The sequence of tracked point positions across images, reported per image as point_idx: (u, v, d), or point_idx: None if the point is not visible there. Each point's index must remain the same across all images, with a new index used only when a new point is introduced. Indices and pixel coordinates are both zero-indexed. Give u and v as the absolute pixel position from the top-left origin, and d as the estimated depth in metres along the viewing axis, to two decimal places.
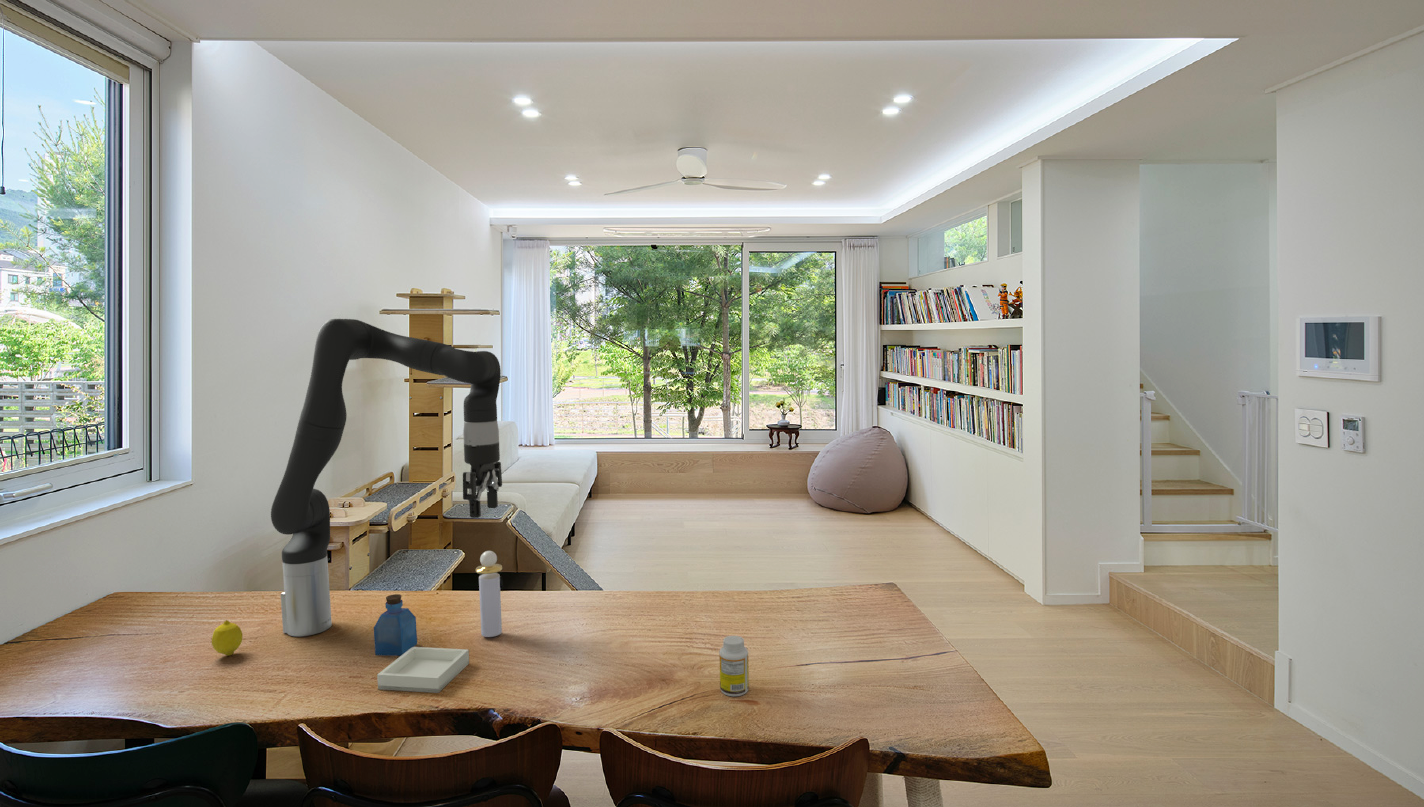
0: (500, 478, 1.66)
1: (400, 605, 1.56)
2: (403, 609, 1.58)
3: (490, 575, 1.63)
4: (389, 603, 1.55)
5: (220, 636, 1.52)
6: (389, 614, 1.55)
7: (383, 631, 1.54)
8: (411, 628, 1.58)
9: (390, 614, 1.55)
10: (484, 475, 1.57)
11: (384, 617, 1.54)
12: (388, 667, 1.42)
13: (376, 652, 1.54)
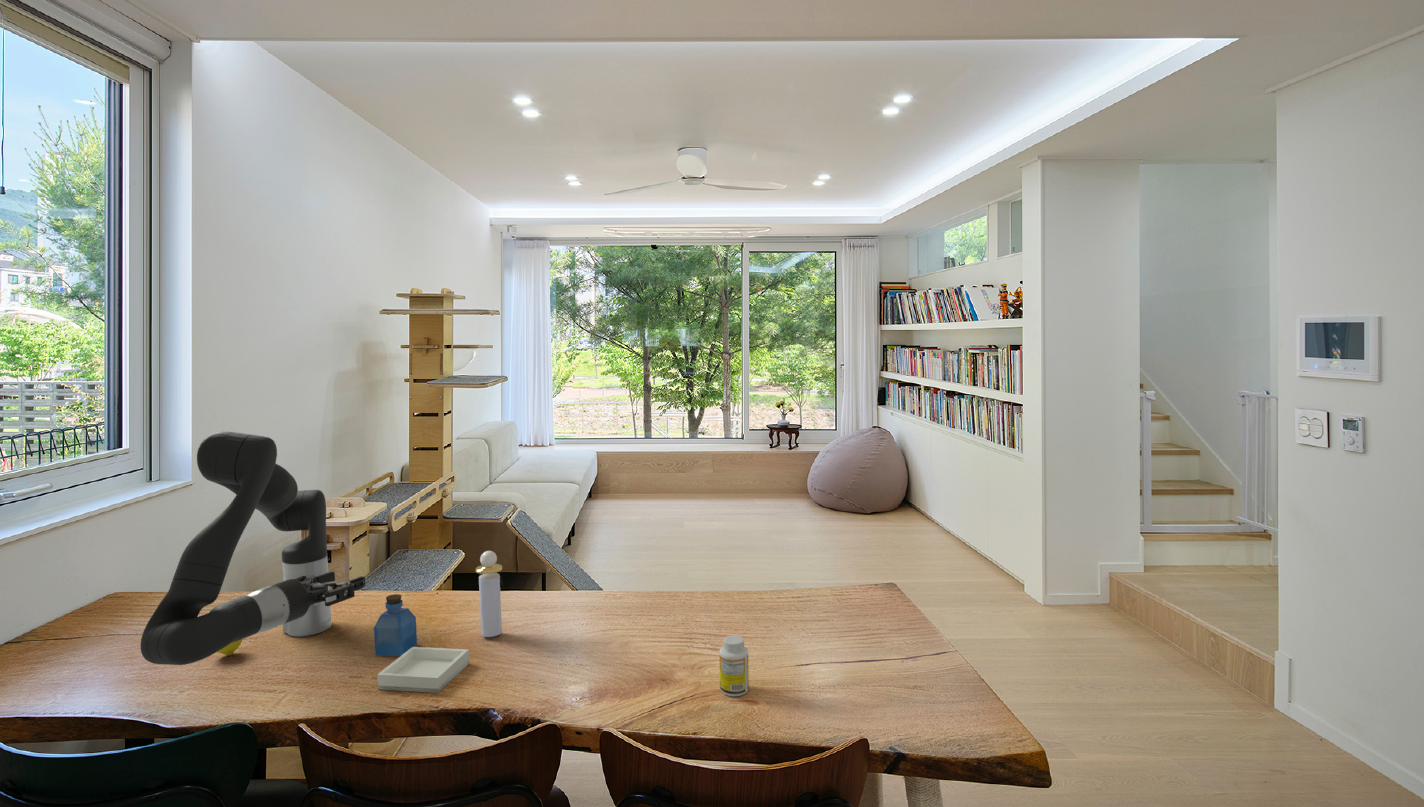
0: None
1: (400, 605, 1.56)
2: (403, 609, 1.58)
3: (490, 575, 1.63)
4: (389, 603, 1.55)
5: None
6: (390, 614, 1.55)
7: (383, 631, 1.54)
8: (411, 628, 1.58)
9: (391, 614, 1.55)
10: None
11: (384, 617, 1.54)
12: (388, 667, 1.42)
13: (376, 652, 1.54)
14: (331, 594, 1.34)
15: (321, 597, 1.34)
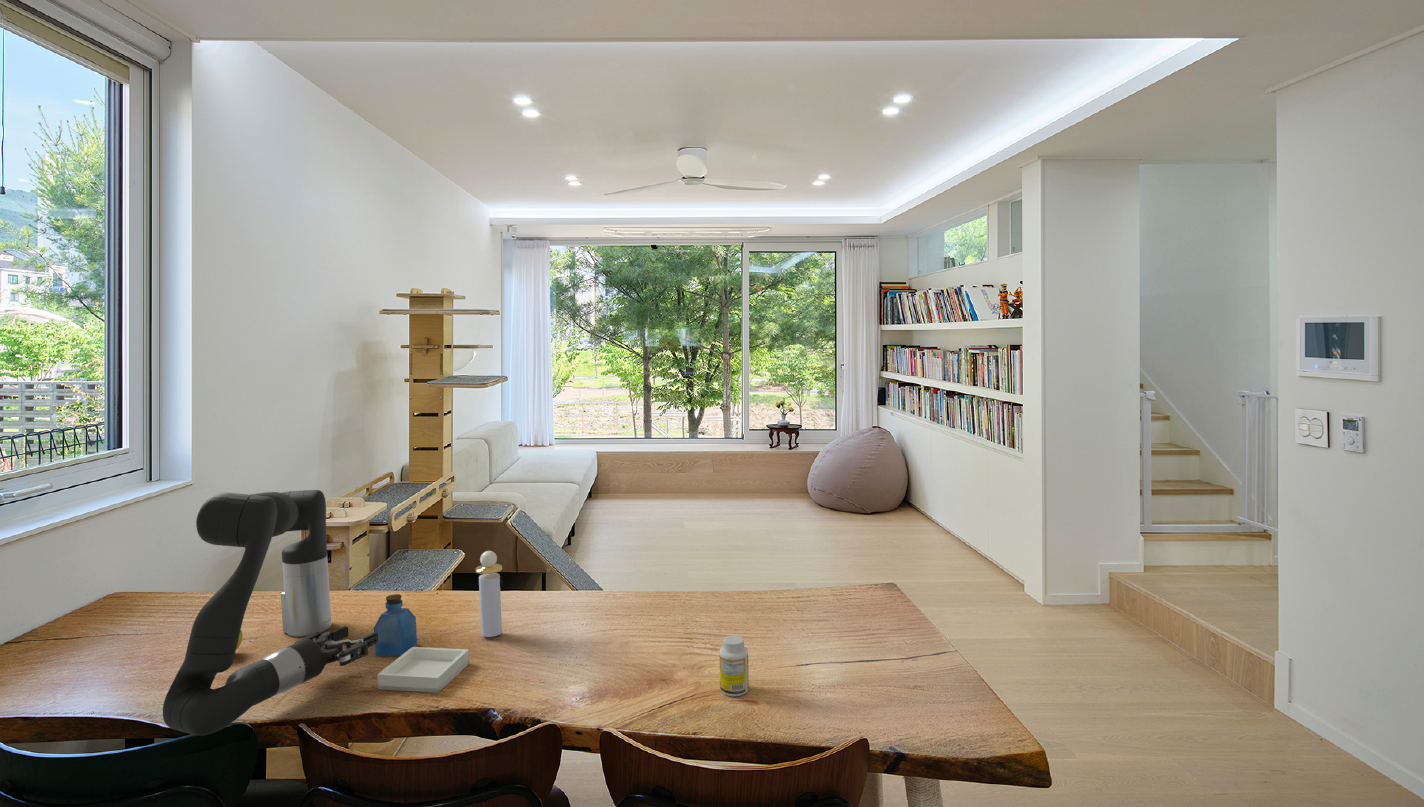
0: None
1: (400, 605, 1.56)
2: (403, 609, 1.58)
3: (490, 575, 1.63)
4: (389, 603, 1.55)
5: None
6: (389, 614, 1.55)
7: (383, 631, 1.54)
8: (411, 628, 1.58)
9: (390, 614, 1.55)
10: None
11: (384, 617, 1.54)
12: (388, 667, 1.42)
13: (376, 652, 1.54)
14: (345, 654, 1.37)
15: (336, 657, 1.38)
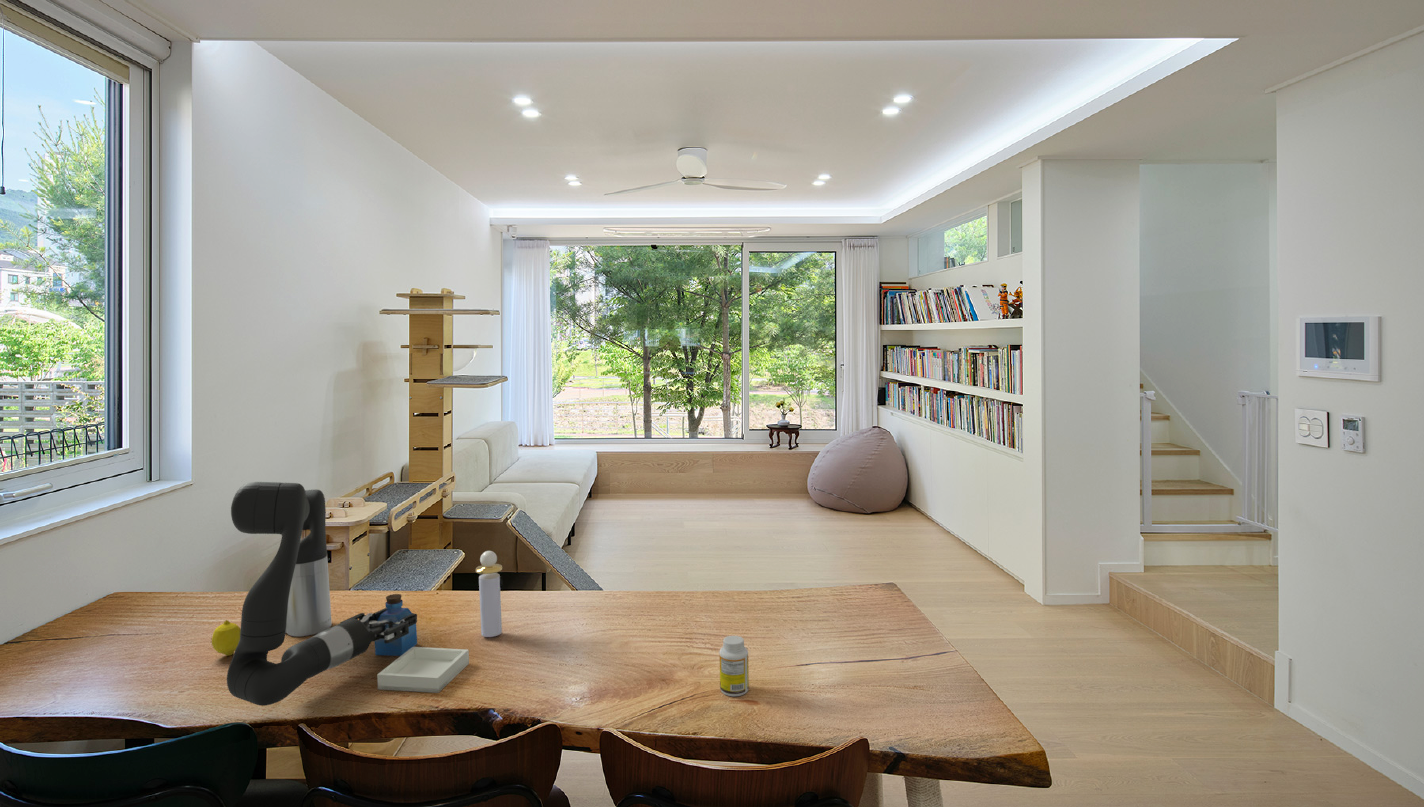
0: None
1: (400, 605, 1.56)
2: (403, 609, 1.58)
3: (490, 575, 1.63)
4: (389, 603, 1.55)
5: (220, 636, 1.52)
6: (389, 614, 1.55)
7: None
8: (411, 628, 1.58)
9: (390, 614, 1.55)
10: None
11: (384, 616, 1.54)
12: (388, 667, 1.42)
13: (376, 652, 1.54)
14: (390, 632, 1.47)
15: (380, 635, 1.47)
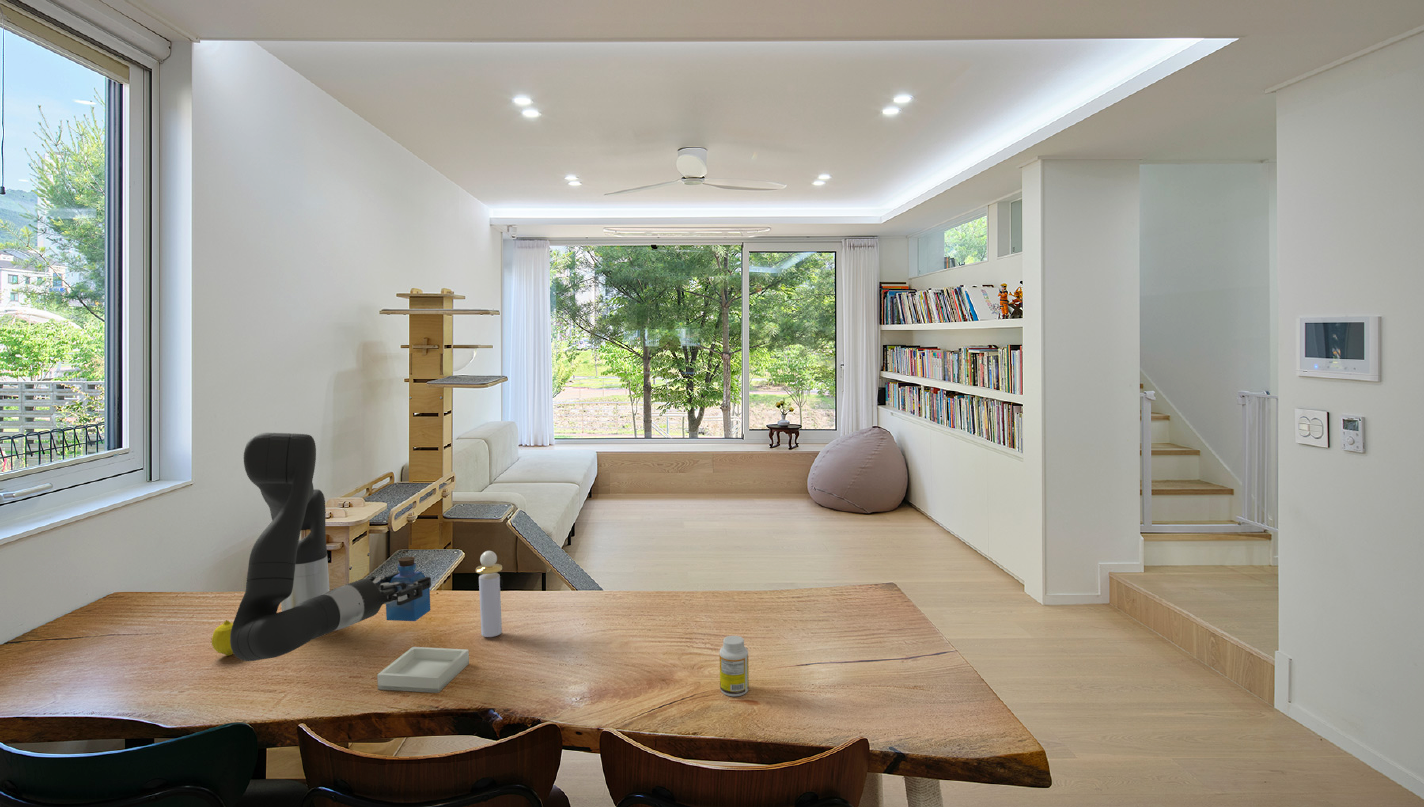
0: None
1: (413, 567, 1.47)
2: (416, 572, 1.49)
3: (490, 575, 1.63)
4: (402, 565, 1.46)
5: (220, 636, 1.52)
6: (402, 577, 1.46)
7: None
8: (425, 593, 1.49)
9: (403, 577, 1.46)
10: None
11: (396, 579, 1.46)
12: (388, 667, 1.42)
13: (387, 617, 1.46)
14: (403, 593, 1.38)
15: (393, 596, 1.38)
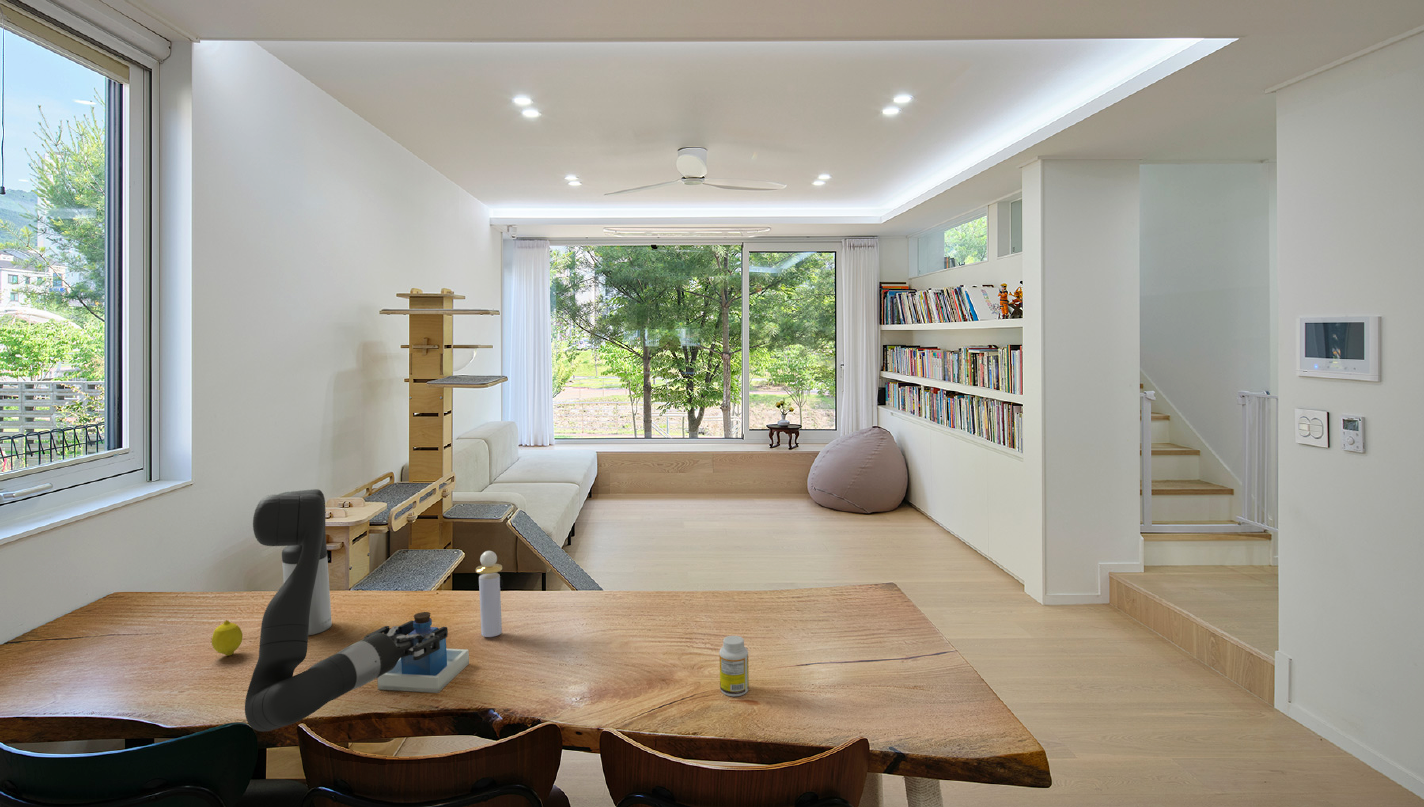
0: None
1: (429, 624, 1.43)
2: (432, 628, 1.45)
3: (490, 575, 1.63)
4: (417, 622, 1.42)
5: (220, 636, 1.52)
6: None
7: None
8: (441, 649, 1.45)
9: None
10: None
11: None
12: None
13: None
14: (419, 648, 1.34)
15: (409, 651, 1.34)
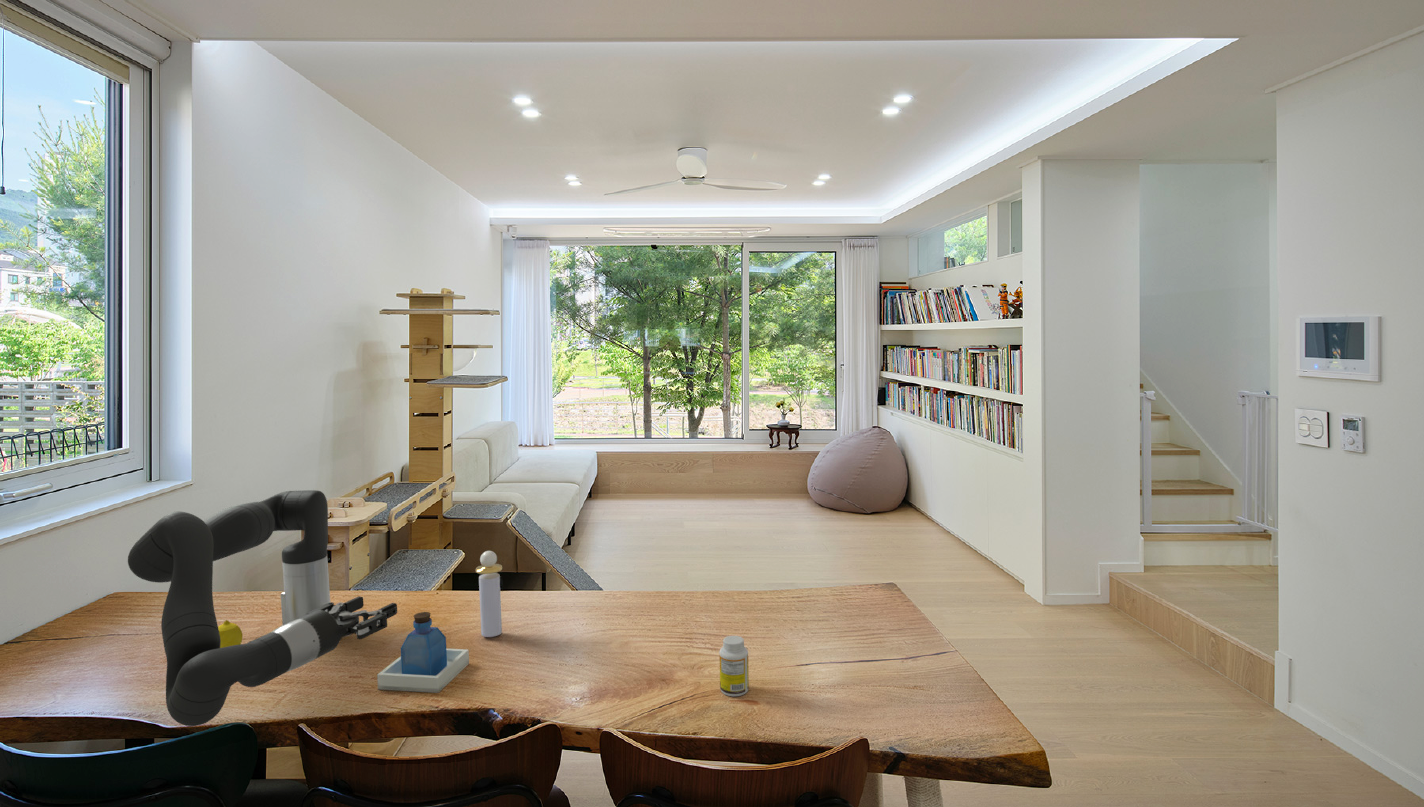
0: None
1: (429, 624, 1.43)
2: (432, 628, 1.45)
3: (490, 575, 1.63)
4: (417, 622, 1.42)
5: (220, 636, 1.52)
6: (417, 634, 1.42)
7: (410, 652, 1.41)
8: (441, 649, 1.45)
9: (418, 634, 1.42)
10: None
11: (412, 636, 1.42)
12: (388, 667, 1.42)
13: None
14: (363, 626, 1.24)
15: (353, 629, 1.24)
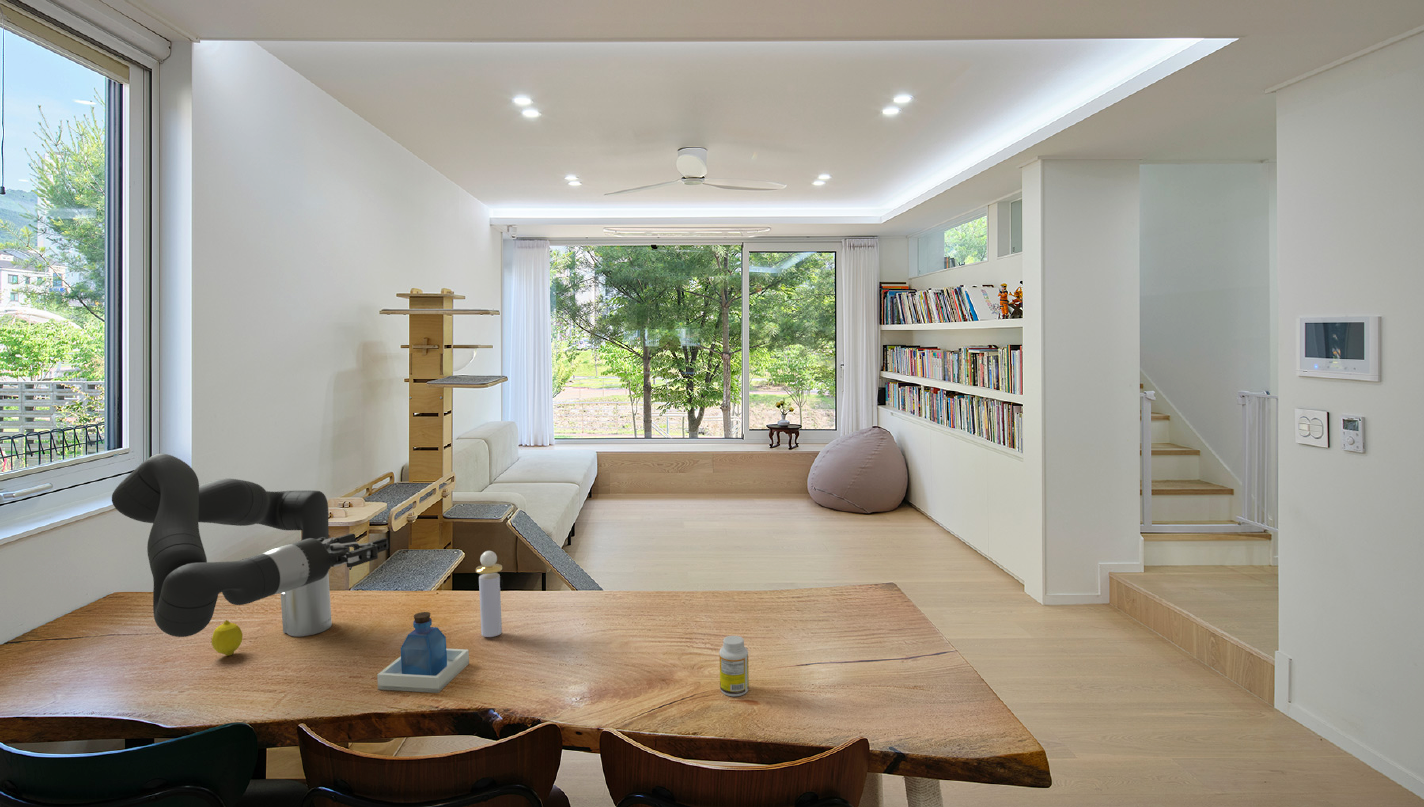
0: None
1: (429, 624, 1.43)
2: (432, 628, 1.45)
3: (490, 575, 1.63)
4: (417, 622, 1.42)
5: (220, 636, 1.52)
6: (417, 634, 1.42)
7: (410, 652, 1.41)
8: (441, 649, 1.45)
9: (418, 634, 1.42)
10: None
11: (412, 636, 1.42)
12: (388, 667, 1.42)
13: None
14: (353, 554, 1.24)
15: (342, 558, 1.24)
